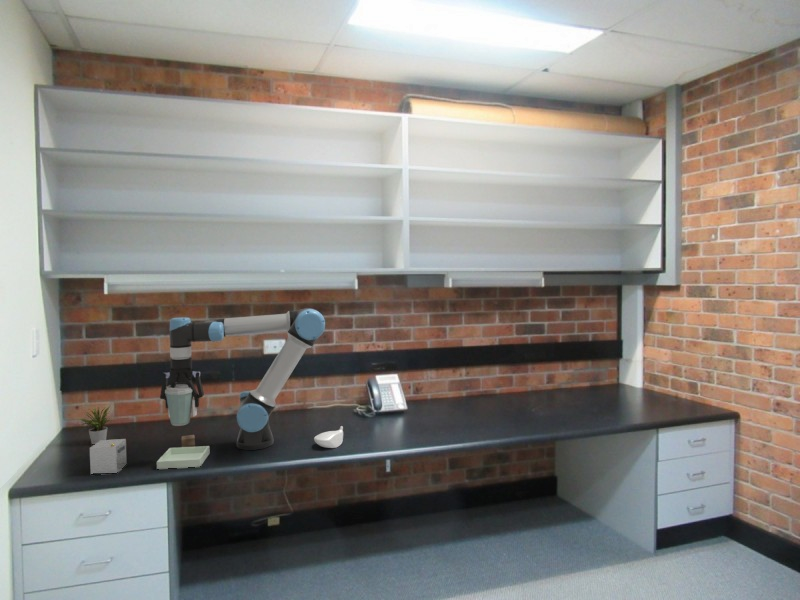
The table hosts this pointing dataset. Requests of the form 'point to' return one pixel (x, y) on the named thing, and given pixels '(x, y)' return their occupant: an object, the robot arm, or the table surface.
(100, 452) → the unit
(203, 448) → the tray
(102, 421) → the house plant
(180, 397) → the disposable coffee cup
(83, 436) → the table surface
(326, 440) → the golf club head
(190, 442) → the walnut block
